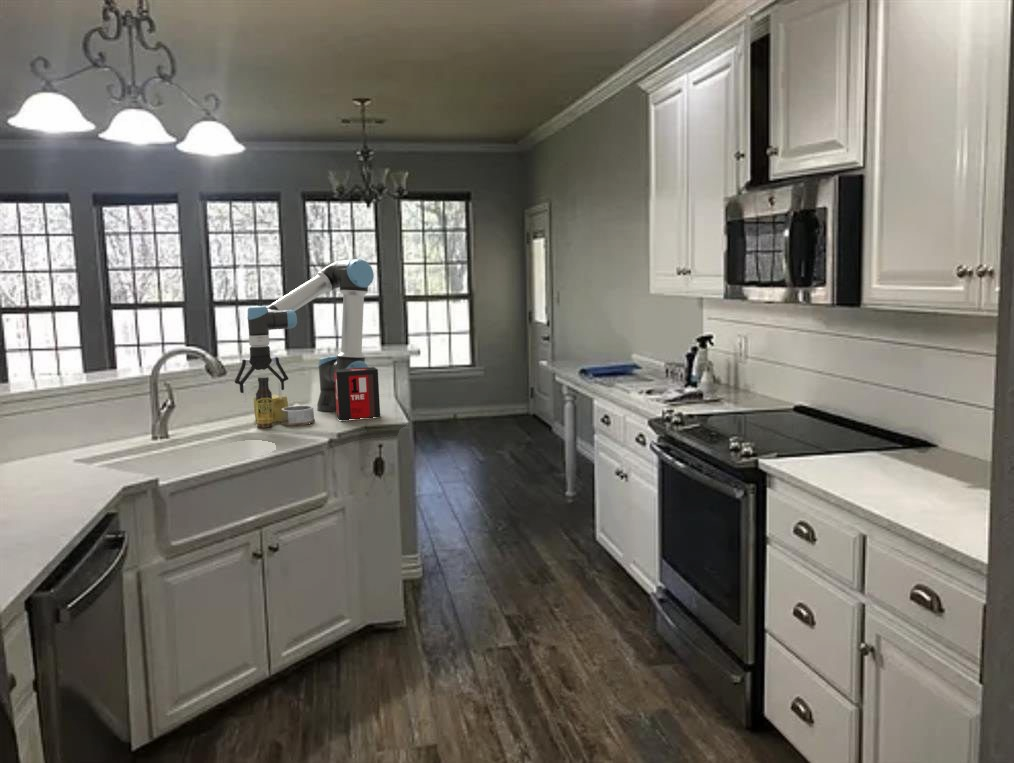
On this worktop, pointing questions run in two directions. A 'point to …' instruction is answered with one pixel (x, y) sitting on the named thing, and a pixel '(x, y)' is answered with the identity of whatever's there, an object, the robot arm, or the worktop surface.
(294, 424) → the duct base
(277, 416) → the cheese
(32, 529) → the worktop surface
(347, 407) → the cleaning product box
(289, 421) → the collar
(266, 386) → the sauce bottle
